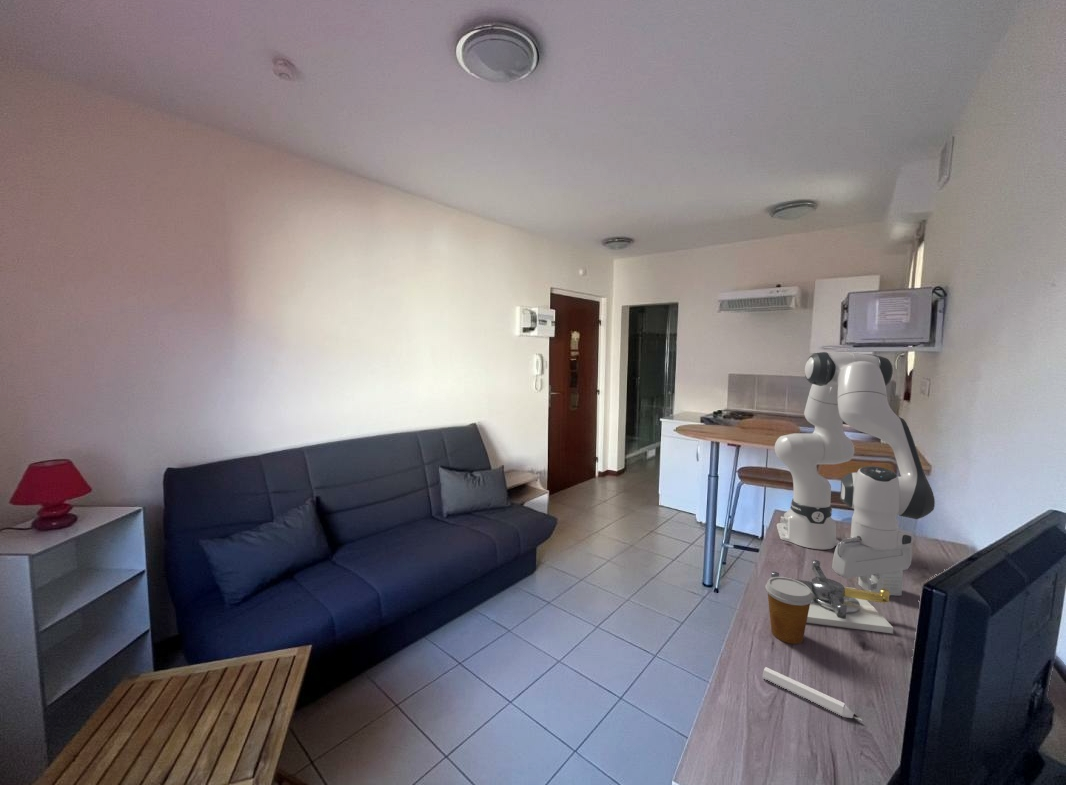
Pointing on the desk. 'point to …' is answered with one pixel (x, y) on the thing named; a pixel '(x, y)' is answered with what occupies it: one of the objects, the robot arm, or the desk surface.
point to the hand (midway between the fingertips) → (869, 588)
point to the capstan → (838, 593)
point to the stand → (850, 617)
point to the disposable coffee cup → (788, 608)
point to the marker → (809, 693)
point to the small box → (889, 583)
